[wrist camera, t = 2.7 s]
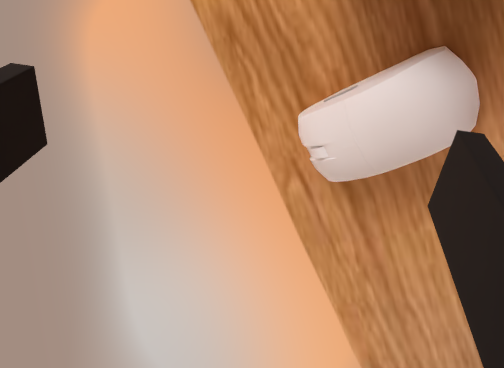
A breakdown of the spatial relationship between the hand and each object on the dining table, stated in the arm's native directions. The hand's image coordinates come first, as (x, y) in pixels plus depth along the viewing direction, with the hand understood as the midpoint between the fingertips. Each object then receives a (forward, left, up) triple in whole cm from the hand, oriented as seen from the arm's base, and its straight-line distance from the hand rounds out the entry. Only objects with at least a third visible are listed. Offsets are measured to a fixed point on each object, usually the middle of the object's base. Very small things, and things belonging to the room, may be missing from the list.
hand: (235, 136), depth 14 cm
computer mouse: (0, +6, -23) cm, 23 cm away
